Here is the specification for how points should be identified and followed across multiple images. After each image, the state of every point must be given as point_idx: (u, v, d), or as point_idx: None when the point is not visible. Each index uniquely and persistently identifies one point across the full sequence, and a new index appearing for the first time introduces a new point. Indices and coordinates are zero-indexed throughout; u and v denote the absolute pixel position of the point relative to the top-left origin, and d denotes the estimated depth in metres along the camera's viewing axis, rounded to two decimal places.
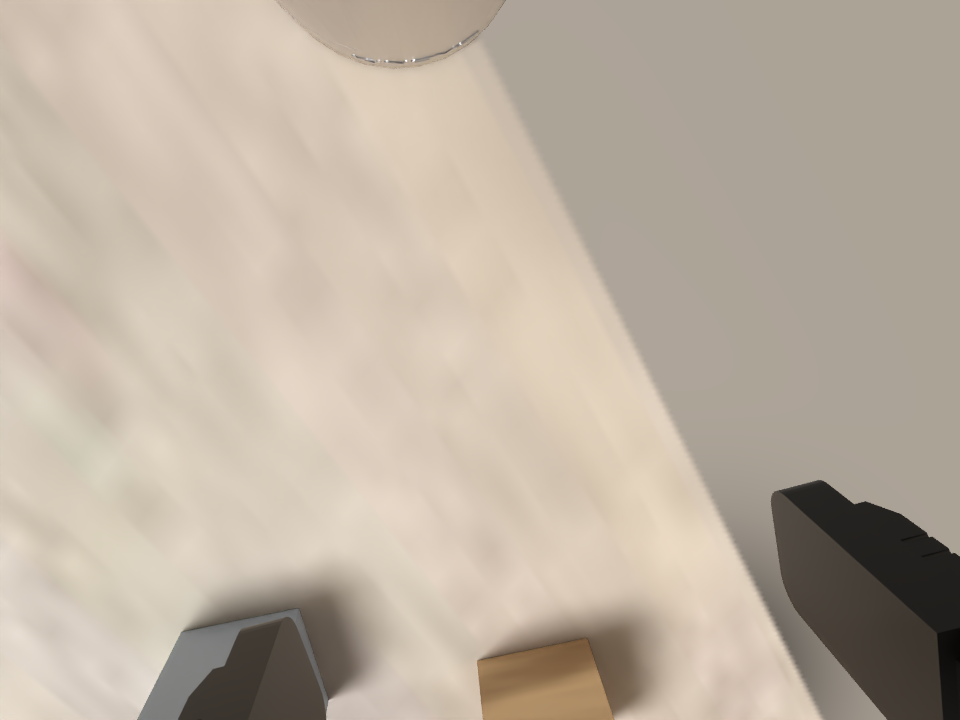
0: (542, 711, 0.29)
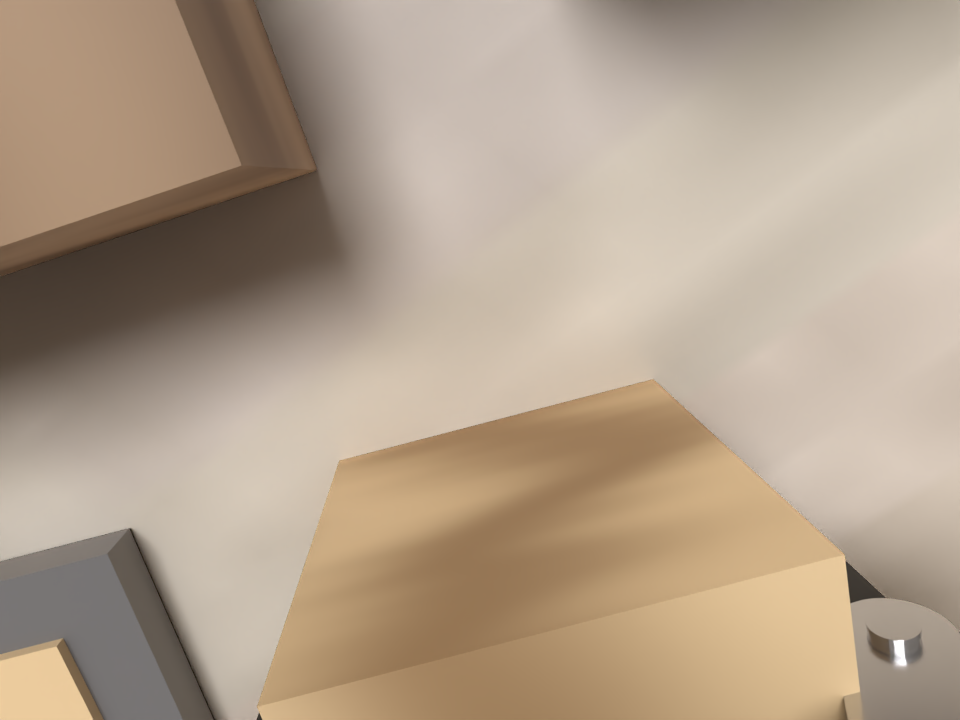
0: None
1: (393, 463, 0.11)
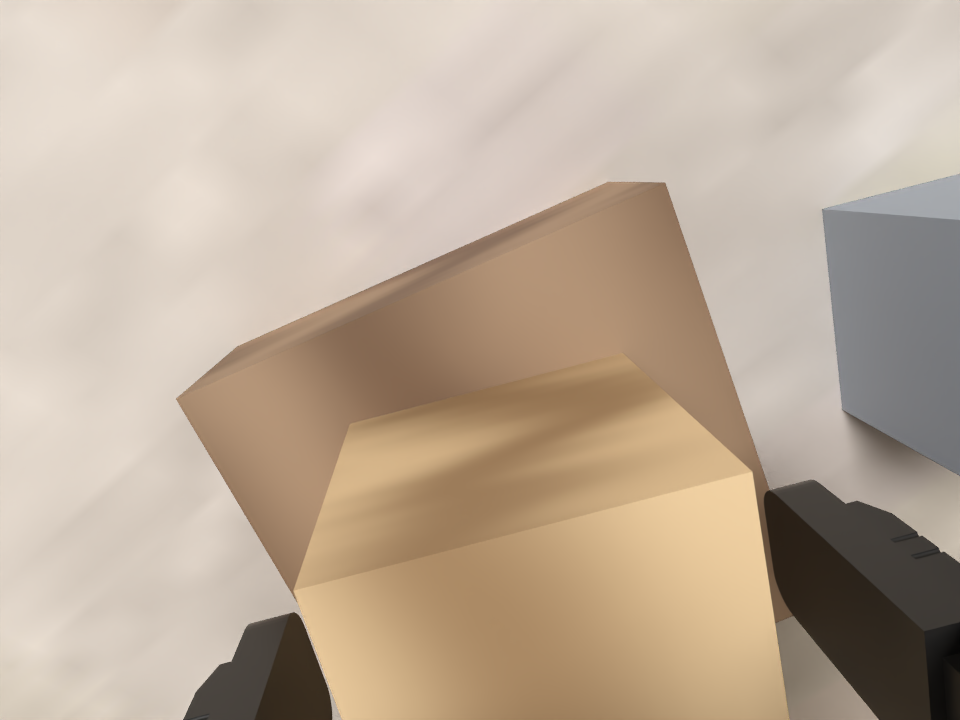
0: None
1: (397, 423, 0.12)
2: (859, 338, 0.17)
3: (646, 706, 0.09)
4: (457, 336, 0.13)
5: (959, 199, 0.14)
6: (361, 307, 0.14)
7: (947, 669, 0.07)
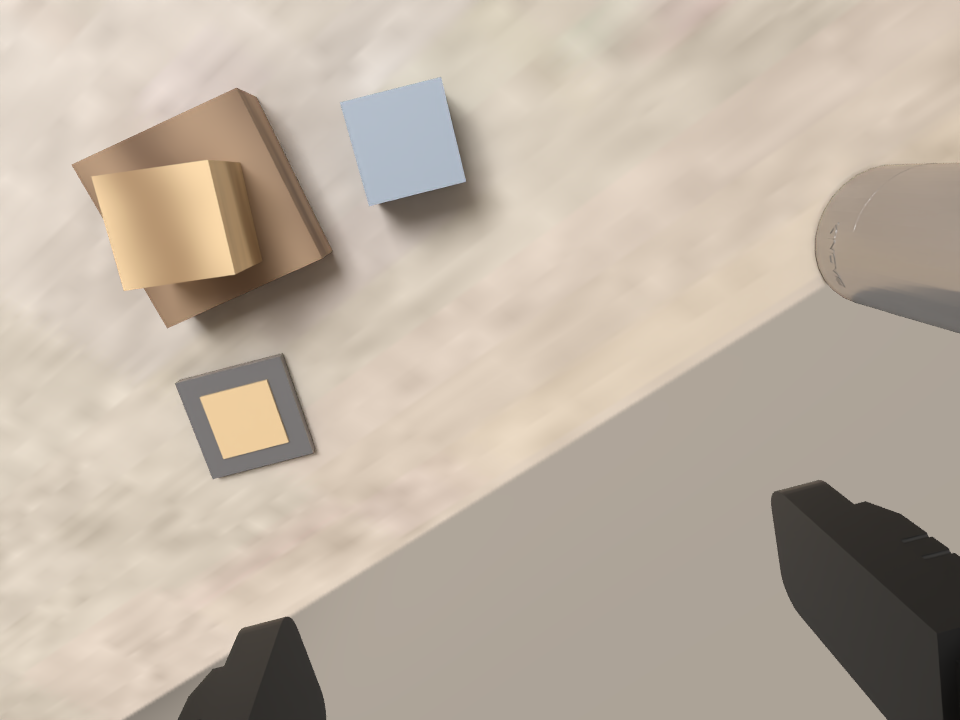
0: (231, 214, 0.34)
1: None
2: None
3: (185, 226, 0.32)
4: (169, 143, 0.37)
5: None
6: None
7: None
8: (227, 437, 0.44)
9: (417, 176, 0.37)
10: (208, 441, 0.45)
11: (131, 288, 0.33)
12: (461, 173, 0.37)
